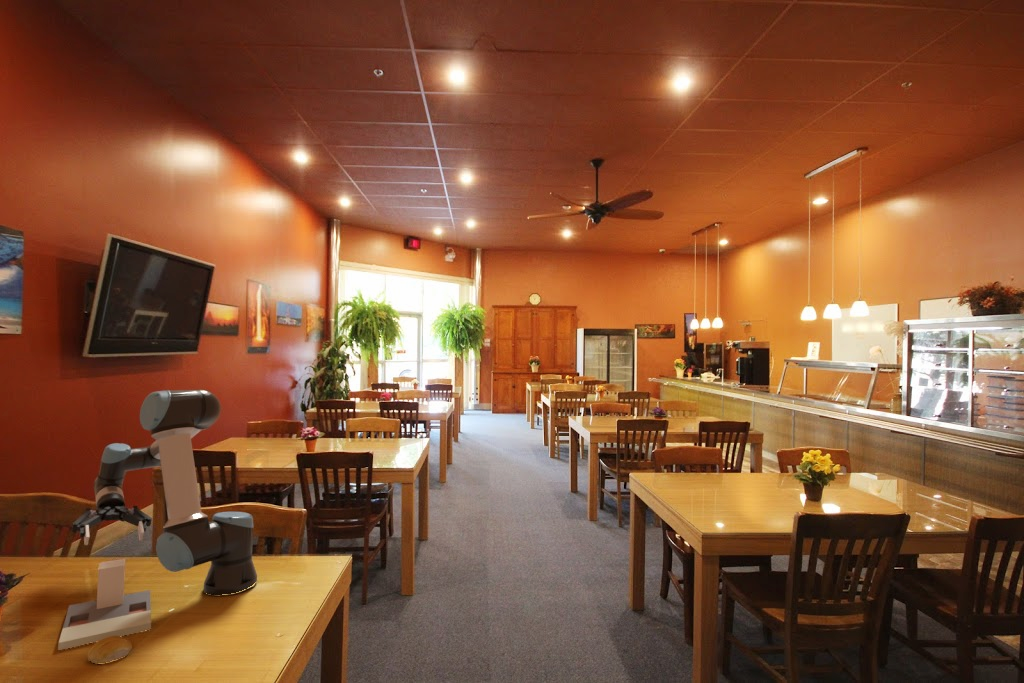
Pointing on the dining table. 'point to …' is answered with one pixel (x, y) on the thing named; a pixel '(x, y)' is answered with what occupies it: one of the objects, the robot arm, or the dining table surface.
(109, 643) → the bread roll
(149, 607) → the board
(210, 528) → the robot arm
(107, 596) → the cream block
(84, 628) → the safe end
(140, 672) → the dining table surface
